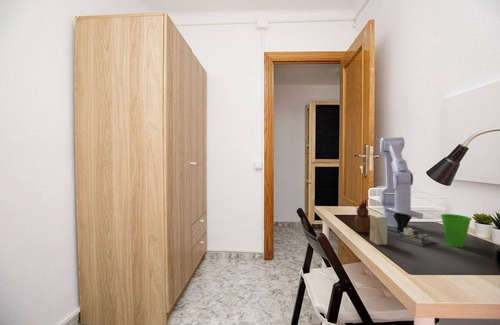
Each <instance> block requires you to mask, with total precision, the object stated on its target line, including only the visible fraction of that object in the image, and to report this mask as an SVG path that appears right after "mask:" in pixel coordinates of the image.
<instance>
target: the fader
mask: <svg viewBox="0 0 500 325" xmlns="http://www.w3.org/2000/svg"><path fill="white" fill-rule="evenodd" d="M412 232H413V228H412V227H409V226H407V227H406V228H404V235H408V236H410V235H412Z"/></svg>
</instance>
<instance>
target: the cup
mask: <svg viewBox="0 0 500 325" xmlns="http://www.w3.org/2000/svg"><path fill="white" fill-rule="evenodd" d="M440 217H441V221H442V226H443V232H444V238H445V242H446V244H447V245H448V246H450V247H456V248H464V246H465V244H466V241H467V235H468V231H469V227H470V225H471V224H470V223H471V221H472V218H471V217H468V216H466V215H461V214H455V213H454V214H453V213H452V214H451V213H443V214H440Z"/></svg>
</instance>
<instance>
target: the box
mask: <svg viewBox="0 0 500 325" xmlns="http://www.w3.org/2000/svg"><path fill="white" fill-rule="evenodd" d="M369 217H370V230H369V241H370V242H372V243H373V244H375V245H378V246H380V245H388V236H387V226H388V225H387V222H388V217H386V216H383V214H380V213H371V214H370V215H369Z"/></svg>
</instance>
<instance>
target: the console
mask: <svg viewBox="0 0 500 325" xmlns="http://www.w3.org/2000/svg"><path fill="white" fill-rule="evenodd" d="M387 238H391V239H395V240H397V241H398V240H399V241H402V242H405V243H408V244H411V245H414V246H418V247H424V246H427V245H430V244H432V243H435V241H436V239H435V237H431V236H429V234H428V233H424V234H420V233H419V230H418V229H412V235H410V236H408V235H404V232H400V231H399V227H398V225H397V226H396V227H392V226H388V225H387Z"/></svg>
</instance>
